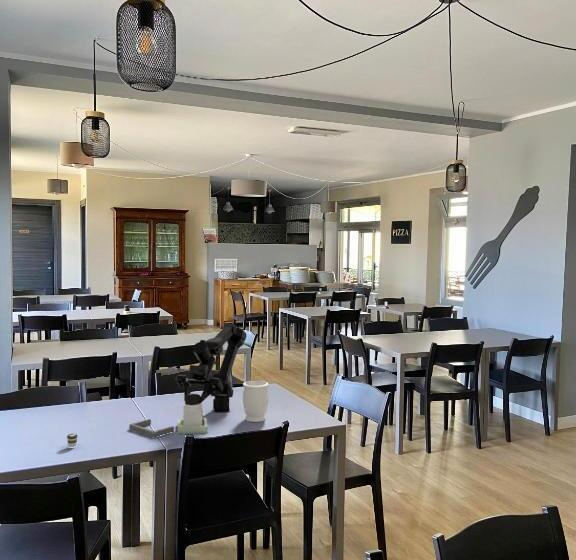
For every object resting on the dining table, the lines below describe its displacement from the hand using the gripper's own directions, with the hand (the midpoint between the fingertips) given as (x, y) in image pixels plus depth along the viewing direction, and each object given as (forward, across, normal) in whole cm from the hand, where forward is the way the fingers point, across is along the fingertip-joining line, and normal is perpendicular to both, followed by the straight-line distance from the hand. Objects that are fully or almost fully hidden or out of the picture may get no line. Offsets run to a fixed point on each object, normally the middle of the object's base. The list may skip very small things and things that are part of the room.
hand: (192, 401), depth 219 cm
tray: (+7, 0, +8) cm, 11 cm away
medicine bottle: (+6, 0, +7) cm, 10 cm away
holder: (+13, -13, +2) cm, 19 cm away
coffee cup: (+31, -29, -16) cm, 45 cm away
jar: (-6, +18, +22) cm, 29 cm away
